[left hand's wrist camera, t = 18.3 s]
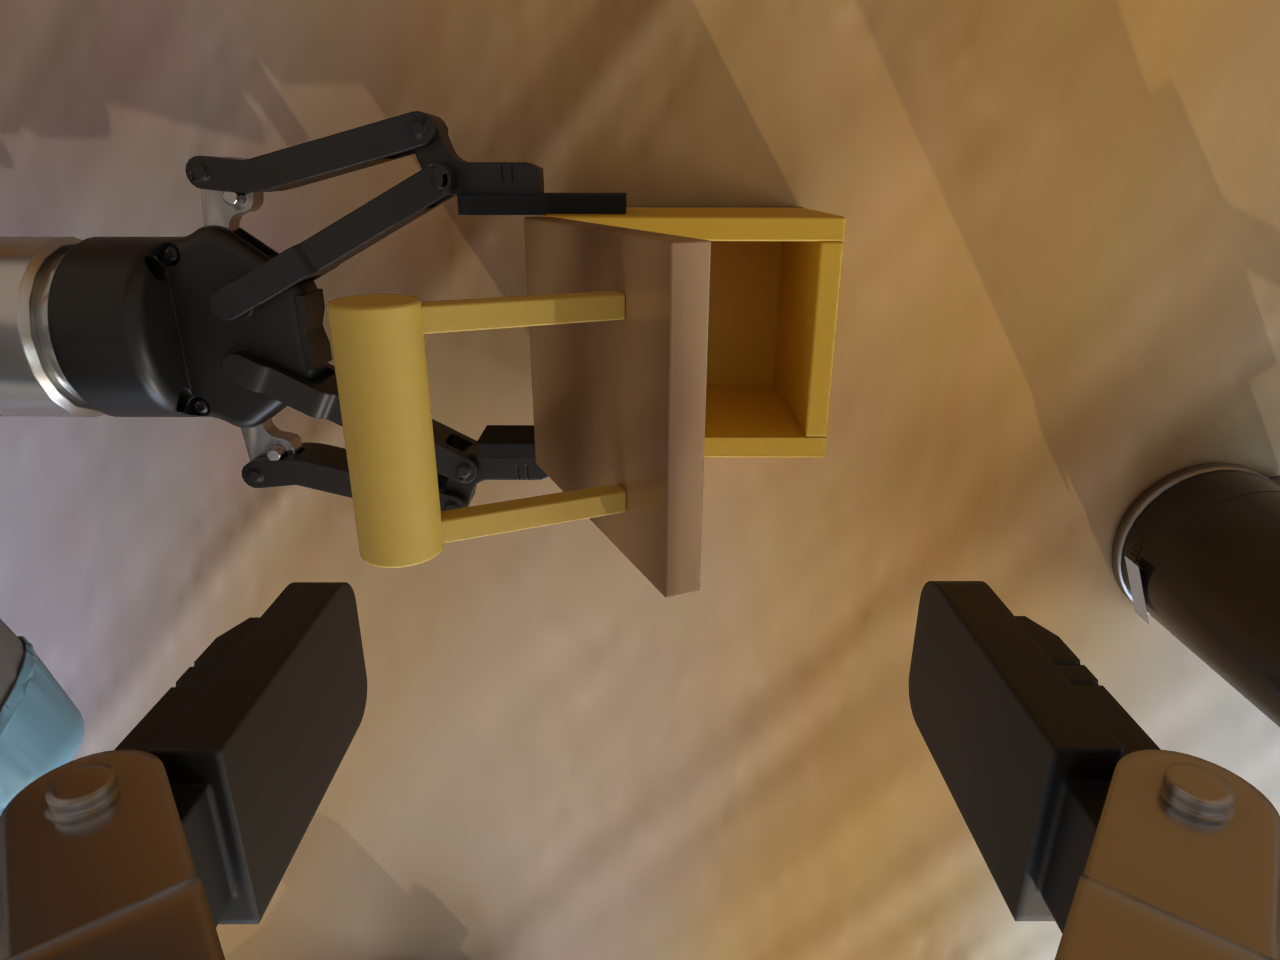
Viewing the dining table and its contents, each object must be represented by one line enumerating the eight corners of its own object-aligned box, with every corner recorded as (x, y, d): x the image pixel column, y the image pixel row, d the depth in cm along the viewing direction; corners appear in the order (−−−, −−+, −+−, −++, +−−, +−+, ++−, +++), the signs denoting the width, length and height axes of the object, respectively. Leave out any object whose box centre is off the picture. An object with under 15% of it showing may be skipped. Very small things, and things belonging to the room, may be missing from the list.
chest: (799, 206, 39) (846, 216, 30) (786, 398, 42) (825, 457, 33) (563, 206, 39) (540, 215, 30) (568, 397, 42) (549, 457, 33)
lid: (712, 240, 19) (328, 253, 16) (700, 591, 23) (381, 662, 19) (552, 216, 30) (299, 221, 26) (560, 459, 33) (337, 491, 30)
